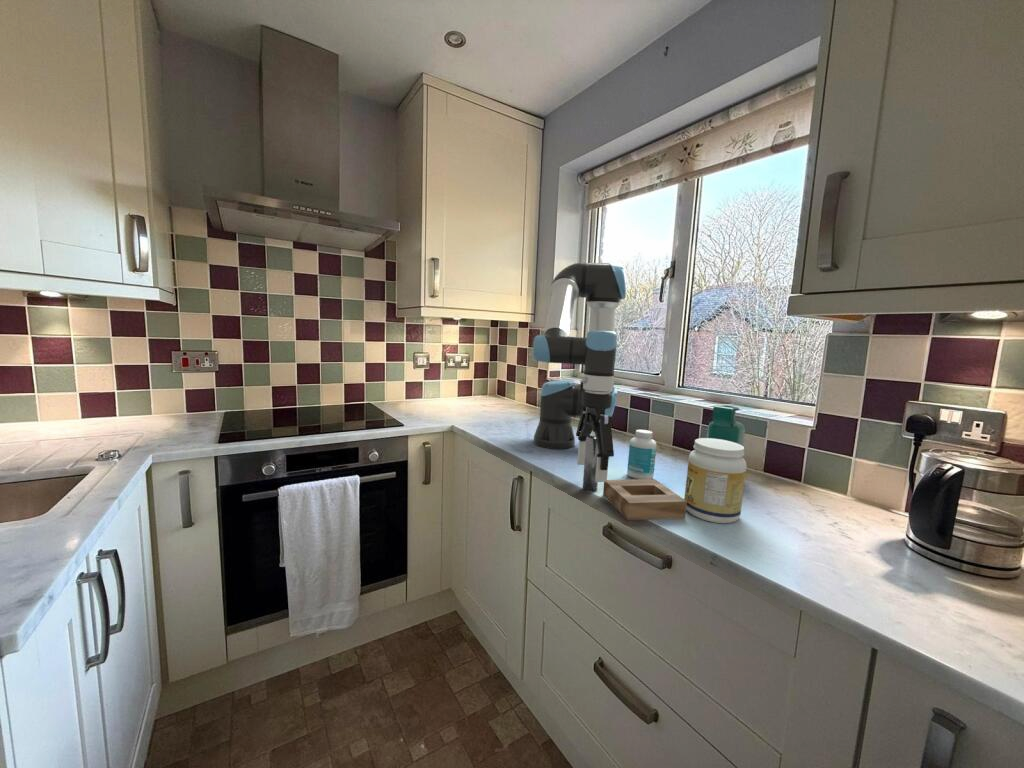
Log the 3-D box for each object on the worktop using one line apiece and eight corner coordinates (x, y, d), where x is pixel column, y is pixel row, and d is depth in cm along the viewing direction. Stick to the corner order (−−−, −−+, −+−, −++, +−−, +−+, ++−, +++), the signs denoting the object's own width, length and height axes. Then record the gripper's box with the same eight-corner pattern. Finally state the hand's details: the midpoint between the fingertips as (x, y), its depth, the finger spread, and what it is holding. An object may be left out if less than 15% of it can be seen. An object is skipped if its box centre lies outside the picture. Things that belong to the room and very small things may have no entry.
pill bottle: (655, 482, 116) (659, 435, 114) (627, 479, 118) (632, 433, 116) (651, 473, 123) (655, 429, 122) (626, 470, 125) (629, 427, 123)
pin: (580, 486, 110) (584, 435, 108) (593, 486, 110) (598, 435, 109) (585, 492, 106) (589, 439, 104) (599, 491, 107) (603, 439, 105)
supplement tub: (682, 499, 105) (689, 434, 103) (735, 508, 101) (744, 440, 99) (683, 518, 94) (691, 445, 91) (744, 530, 89) (753, 454, 87)
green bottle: (710, 471, 128) (718, 402, 126) (740, 479, 123) (749, 406, 120) (698, 478, 122) (707, 404, 119) (729, 486, 116) (739, 409, 113)
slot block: (602, 495, 105) (604, 480, 104) (653, 493, 107) (654, 479, 107) (627, 520, 91) (629, 502, 91) (685, 518, 94) (687, 501, 93)
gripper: (568, 384, 116) (563, 457, 119) (602, 399, 92) (595, 490, 95) (593, 385, 118) (587, 457, 120) (633, 400, 94) (625, 490, 96)
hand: (591, 472), depth 108 cm, fingers open, 12 cm apart
